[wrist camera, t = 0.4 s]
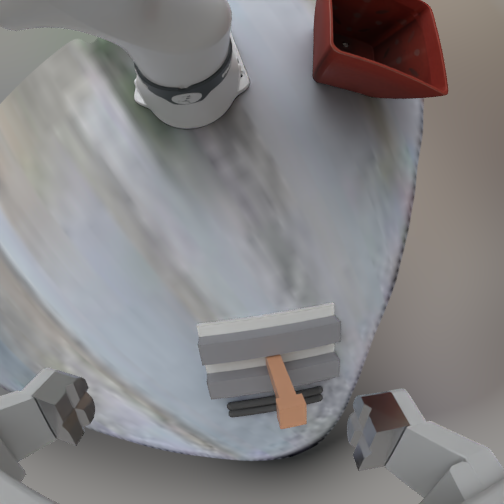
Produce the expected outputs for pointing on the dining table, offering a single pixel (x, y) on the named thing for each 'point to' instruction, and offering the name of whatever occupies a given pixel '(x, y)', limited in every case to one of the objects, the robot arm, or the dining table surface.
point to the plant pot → (379, 48)
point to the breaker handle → (285, 395)
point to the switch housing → (269, 349)
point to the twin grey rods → (270, 401)
